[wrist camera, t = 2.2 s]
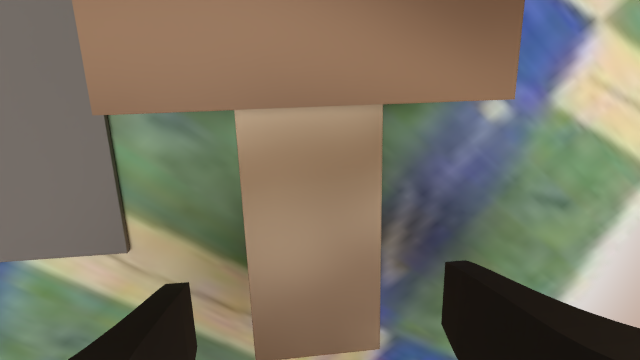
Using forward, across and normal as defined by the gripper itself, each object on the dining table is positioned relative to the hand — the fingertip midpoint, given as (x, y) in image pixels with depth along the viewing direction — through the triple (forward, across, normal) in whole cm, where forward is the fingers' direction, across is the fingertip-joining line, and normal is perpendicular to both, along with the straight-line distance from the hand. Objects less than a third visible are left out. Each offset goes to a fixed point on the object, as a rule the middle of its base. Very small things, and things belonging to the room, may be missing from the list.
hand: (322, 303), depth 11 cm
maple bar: (+6, 0, -3) cm, 7 cm away
